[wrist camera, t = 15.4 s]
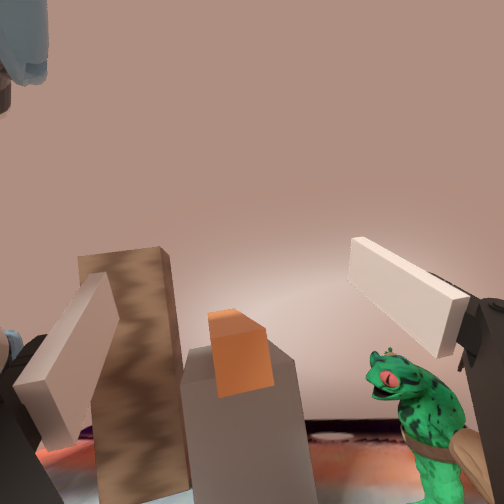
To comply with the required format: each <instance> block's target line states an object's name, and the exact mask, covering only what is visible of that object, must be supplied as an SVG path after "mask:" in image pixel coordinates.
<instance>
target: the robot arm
mask: <svg viewBox="0 0 504 504" xmlns="http://www.w3.org/2000/svg"><path fill="white" fill-rule="evenodd" d="M48 41H49V37H48V12H47V0H0V120H2V119H3V118H5V117H6V116H7V114H8V113H9V111H10V106H11V80H13V81H14V82H15V83H16V84H18V85H21V86H27V85H29V84H31V85H40V84H42V83H43V82H44V81H45V80H46V77H47V58H48V47H49V42H48ZM348 281H349V282H350V283H351V284H352V285H353V286H354V287H355V288H357V289H358V290H359V291H360V292H361V293H362V294H364V295H365V296H366V297H367V298H368V299H369V300H370V301H371V302H373V303H374V304H375V305H376V306H377V307H378V308H379V309H381V310H382V311H383V312H384V313H385V314H386V315H387V316H388V317H390V318H391V319H392V320H393V321H394V322H395V323H396V324H398V325H399V326H400V327H401V328H402V329H403V330H404V331H406V332H407V333H408V334H409V335H410V336H411V337H412V338H413V339H415V340H416V341H417V342H418V343H419V344H420V345H421V346H423V347H424V348H425V349H426V350H427V351H428V352H429V353H430V354H432V355H433V356H434V357H435V358H436V359H437V358H441V357H445V356H450V355H452V354H453V352H454V348H455V345H456V342H457V343H458V344H460V345H461V346H462V347H464V351H463V354H462V357H461V360H460V363H459V366H458V371H459V372H461V370H462V368H464V367H465V371H466V375H467V380H468V384H469V389H470V393H471V398H472V402H473V407H474V411H475V416H476V420H477V424H478V429H479V434H480V438H481V443H482V447H483V452H484V456H485V461H486V465H487V470H488V474H489V479H490V483H491V488H492V492H493V497H494V501H495V504H504V300H501V299H497V298H483V299H479V298H477V297H475V296H473V295H472V294H469V293H468V292H466V291H464V290H462V289H461V288H459V287H457V286H455V285H452V283H450V282H448V281H444V279H442V278H441V277H439V276H437V275H435V274H433V273H430V272H427V271H424V270H423V269H421V268H419V267H417V266H415V265H414V264H412V263H410V262H408V261H406V260H405V259H403V258H401V257H399V256H397V255H396V254H394V253H392V252H390V251H389V250H387V249H385V248H383V247H381V246H380V245H378V244H376V243H374V242H372V241H371V240H369V239H367V238H365V237H357V238H352V239H351V250H350V261H349V270H348ZM119 319H120V318H119V315H118V311H117V308H116V304H115V301H114V297H113V294H112V291H111V287H110V284H109V280H108V277H107V273H106V272H101V273H93V274H89V275H88V276H87V278H86V279H85V281H84V282H83V284H82V285H81V286H80V288H79V290H78V291H77V292H76V294H75V296H74V297H73V298H72V300H71V301H70V303H69V304H68V305H67V307H66V308H65V310H64V311H63V313H62V314H61V316H60V317H59V319H58V320H57V322H56V323H55V325H54V326H53V328H52V329H51V330H50V332H49V333H48V334H45V335H40V336H37V337H35V338H34V339H33V340H31V341H30V342H29V343H27V344H26V345H25V346H23V341H22V338H21V336H20V334H19V333H17V332H15V331H12V330H8V331H5V330H3V329H2V328H1V327H0V504H64V502H63V501H62V499H61V497H60V495H59V494H58V492H57V490H56V489H55V487H54V485H53V483H52V482H51V480H50V478H49V477H48V475H47V473H46V471H45V470H44V468H43V466H42V465H41V463H40V461H39V459H38V458H37V456H36V454H35V452H36V450H37V447H38V445H39V443H40V441H41V440H42V442H43V444H44V446H45V447H46V449H47V451H48V452H50V451H54V450H58V449H62V448H66V447H70V446H75V445H76V442H77V439H78V436H79V433H80V431H81V428H82V425H83V422H84V419H85V416H86V413H87V410H88V408H89V405H90V402H91V399H92V396H93V393H94V390H95V388H96V385H97V382H98V379H99V376H100V373H101V370H102V368H103V365H104V362H105V359H106V356H107V353H108V350H109V347H110V345H111V342H112V339H113V336H114V333H115V330H116V327H117V325H118V322H119Z"/></svg>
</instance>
